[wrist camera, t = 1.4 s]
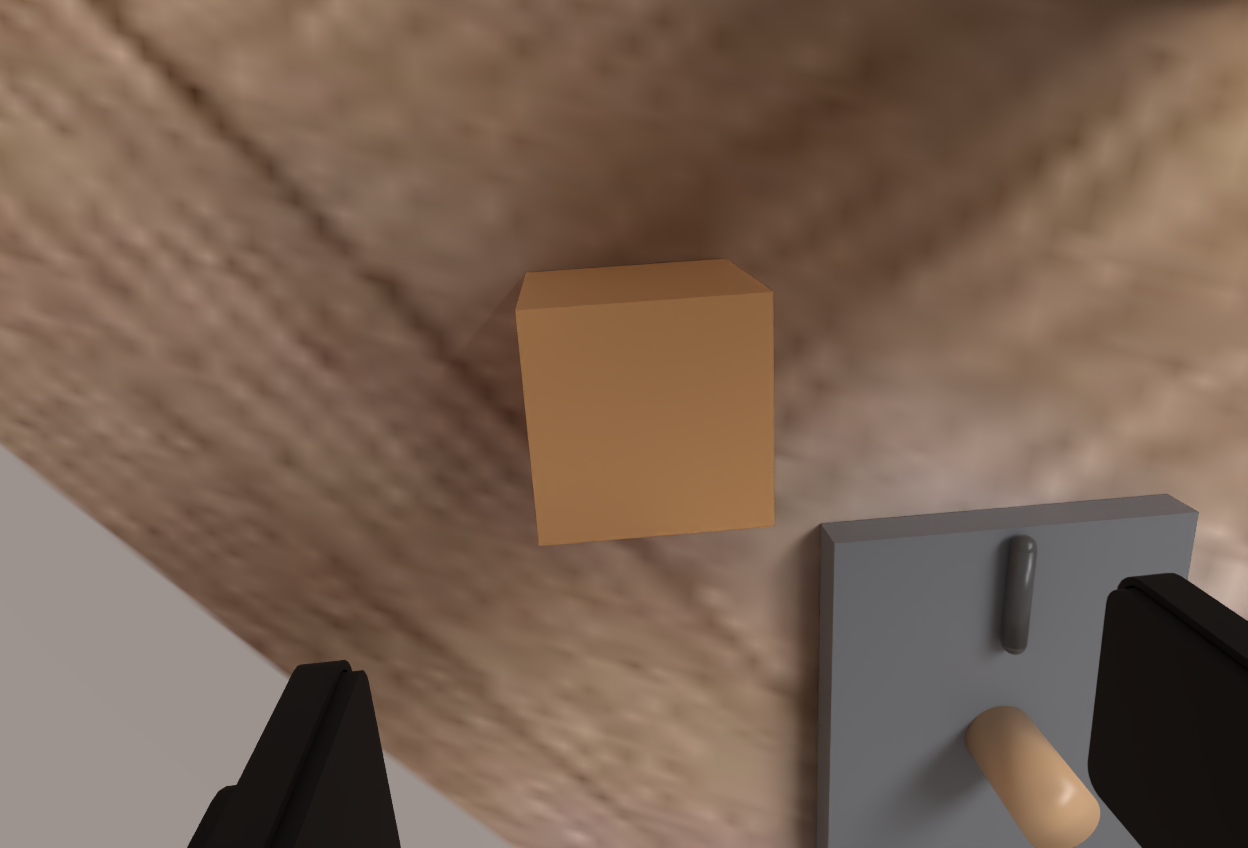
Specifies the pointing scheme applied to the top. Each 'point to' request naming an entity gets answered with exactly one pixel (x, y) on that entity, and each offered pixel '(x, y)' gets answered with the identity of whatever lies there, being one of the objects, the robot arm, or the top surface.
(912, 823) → the plate
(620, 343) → the tan wooden cube
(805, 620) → the top surface
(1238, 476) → the top surface
